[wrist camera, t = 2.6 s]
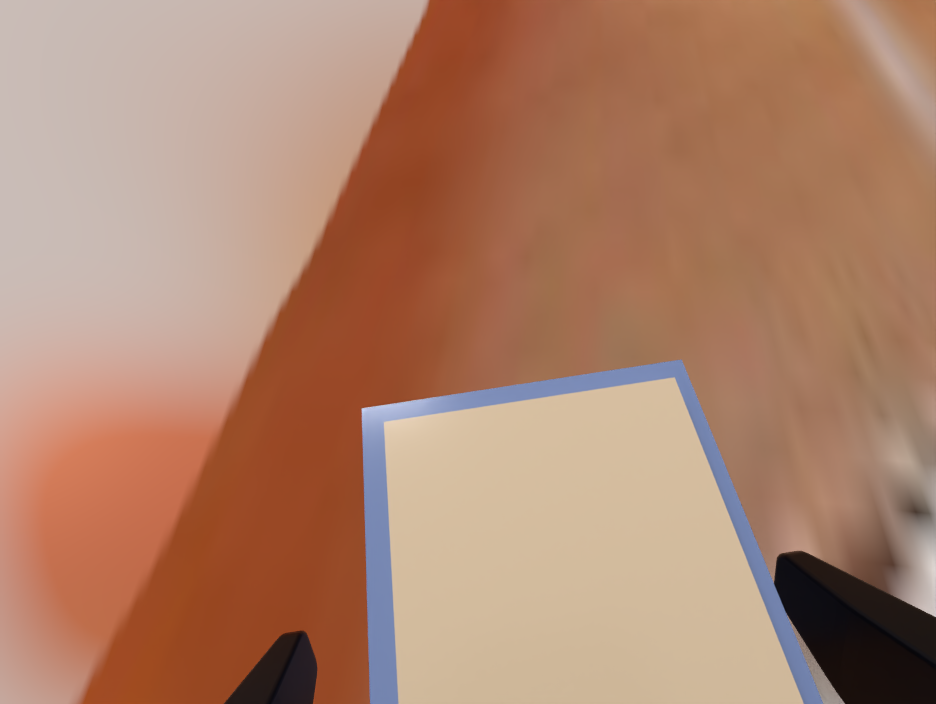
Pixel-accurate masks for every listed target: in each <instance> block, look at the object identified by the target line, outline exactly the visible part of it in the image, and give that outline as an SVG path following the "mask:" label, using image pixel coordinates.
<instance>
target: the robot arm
mask: <svg viewBox="0 0 936 704" xmlns="http://www.w3.org/2000/svg"><path fill="white" fill-rule="evenodd" d="M774 585H775V588H776V590H777V593H778V595H779V598H780V600H781V602H782V605H783V607H784V610H785V612H786V613H787V615H788V617H789V618H790V620H791V621H792V623H793V625H794V626H795V628H796V629H797V631H798V633H799V634H800V636H801V637H802V639H803V640H804V642H805V644H806V645H807V647H808V648H809V650H810V652H811V653H812V655H813V656H814V658H815V659H816V661H817V663H818V664H819V666H820V667H821V669H822V671H823V672H824V674H825V675H826V677H827V678H828V680H829V681H830V683H831V684H832V686H833V687H834V689H835V690H836V692H837V693H838V695H839V696H840V697H841V699H842V700H843V702H844V703H845V704H936V617H934V616H932V615H930V614H928V613H926V612H924V611H922V610H920V609H918V608H916V607H914V606H912V605H910V604H908V603H906V602H904V601H902V600H900V599H898V598H896V597H894V596H892V595H890V594H888V593H886V592H884V591H882V590H880V589H878V588H876V587H874V586H872V585H870V584H868V583H866V582H864V581H862V580H860V579H858V578H856V577H854V576H852V575H850V574H848V573H846V572H844V571H842V570H840V569H838V568H836V567H834V566H832V565H830V564H828V563H826V562H824V561H822V560H820V559H818V558H816V557H814V556H812V555H810V554H808V553H806V552H803V551H793V552H787V553H782V554H780V555H779V556H778V557H777V561H776V570H775V579H774ZM316 678H317V662H316V658H315V655H314V653H313V650H312V647H311V644H310V641H309V638H308V636H307V634H306V632H304V631H295V632H289V633H285V634H283V635H281V636H280V637H279V638H278V639H277V640H276V641H275V643H274V644H273V645H272V646H271V647H270V649H269V650H268V651H267V652H266V653H265V655H264V656H263V657H262V658H261V660H260V661H259V662H258V663H257V664H256V666H255V667H254V668H253V669H252V670H251V672H250V673H249V674H248V675H247V676H246V678H245V679H244V680H243V681H242V682H241V684H240V685H239V686H238V687H237V688H236V690H235V691H234V692H233V693H232V695H231V696H230V697H229V698H228V699H227V701H226V702H225V703H224V704H313V699H314V692H315V685H316Z"/></svg>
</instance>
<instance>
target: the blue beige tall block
mask: <svg viewBox="0 0 936 704" xmlns="http://www.w3.org/2000/svg"><path fill="white" fill-rule="evenodd" d="M362 431H363V467H364V502H365V537H366V573H367V608H368V644H369V679H370V704H823V702H822V699H821V697H820V695H819V692H818V690H817V687H816V685H815V682H814V680H813V678H812V675H811V673H810V670H809V668H808V665H807V663H806V661H805V658H804V656H803V653H802V651H801V649H800V646H799V644H798V641H797V639H796V636H795V634H794V632H793V629H792V627H791V624H790V622H789V619H788V617H787V615H786V612H785V610H784V607H783V605H782V602H781V600H780V598H779V595H778V593H777V590H776V588H775V585H774V583H773V581H772V578H771V576H770V573H769V571H768V568H767V566H766V564H765V561H764V559H763V556H762V554H761V551H760V549H759V547H758V544H757V542H756V539H755V537H754V534H753V532H752V530H751V527H750V525H749V522H748V520H747V517H746V515H745V513H744V510H743V508H742V505H741V503H740V500H739V498H738V496H737V493H736V491H735V488H734V486H733V484H732V481H731V479H730V476H729V474H728V471H727V469H726V467H725V464H724V462H723V459H722V457H721V454H720V452H719V450H718V447H717V445H716V442H715V440H714V437H713V435H712V433H711V430H710V428H709V425H708V423H707V420H706V418H705V416H704V413H703V411H702V408H701V406H700V403H699V401H698V399H697V396H696V394H695V391H694V389H693V386H692V384H691V382H690V379H689V377H688V374H687V372H686V369H685V367H684V365H683V362H682V360H676V361H670V362H663V363H657V364H650V365H643V366H637V367H630V368H624V369H617V370H611V371H604V372H598V373H591V374H585V375H578V376H571V377H565V378H558V379H552V380H545V381H539V382H532V383H526V384H519V385H513V386H506V387H500V388H493V389H486V390H480V391H473V392H467V393H460V394H454V395H447V396H441V397H434V398H428V399H421V400H415V401H408V402H401V403H395V404H388V405H382V406H375V407H369V408H362Z"/></svg>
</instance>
